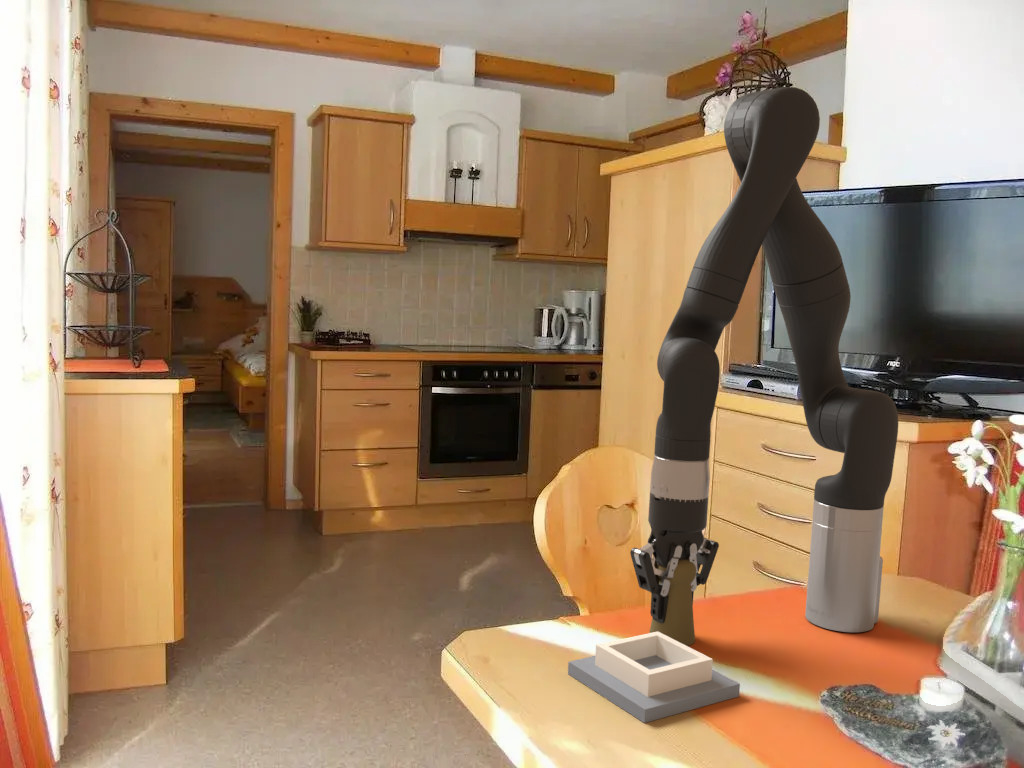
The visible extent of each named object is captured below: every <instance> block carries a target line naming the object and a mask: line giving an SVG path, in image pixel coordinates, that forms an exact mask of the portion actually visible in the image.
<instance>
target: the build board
mask: <svg viewBox="0 0 1024 768" xmlns="http://www.w3.org/2000/svg"><path fill="white" fill-rule="evenodd" d="M713 662H714V660H713V658H711V657H709V656H707V655H705V654H704V653H702V652H700V651H697V650H696V649H694V648H692V647H690V646H686V645H684V644H682V643H680V642H678V641H676V640H674V639H672V638H670V637H668V636H666V635H664V634H662V633H660V632H658V631H657V632H652V633H649V632H648V633H644V634H639V635H635V636H631V637H626V638H621V639H616V640H611V641H606V642H601V643H598V644H595V655H593V656H592V655H591V656H588V657H584V658H579V659H574V660H570V661H568V662H567V675H569V676H571V677H572V678H573V679H576V680H577V681H579V682H580V683H581V684H582V685H584V686H586V687H587V688H590V690H592V691H594V692H596V693H597V694H598V695H600V696H601V697H603V698H605V699H606V700H608V701H609V702H611V703H612V704H614V705H615V706H617V707H618V708H620V709H621V710H623V711H625V712H627V713H628V714H629V715H631V716H633V717H634V718H636V719H637V720H639V721H641V723H644V724H645V723H646V724H647V723H650V722H653V721H657V720H660V719H664V718H667V717H671V716H674V715H678V714H682V713H685V712H688V711H692V710H695V709H699V708H703V707H706V706H710V705H714V704H716V703H721V702H725V701H728V700H731V699H735V698H738V697H740V688H741V683H739V682H737V681H736V680H734V679H732V678H729V677H727V676H726V675H724V674H722V673H720V672H718V671H716V670H714V669H713Z"/></svg>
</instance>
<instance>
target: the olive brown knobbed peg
mask: <svg viewBox="0 0 1024 768" xmlns="http://www.w3.org/2000/svg"><path fill="white" fill-rule="evenodd" d="M657 568H658V569H660V570H662V571H666V569H667V568H665V567H663V566H660V565H659V564H657ZM695 576H696V566H695V565H694V563H692V562H689V561H688V560H687V559H684V560H679V561H678V564H677V567H676V568H675V571H674V577H673V579H670V580H669V582H670V587H669V591H668V594H667V596H669V600H668V606H667V612H666V618H665V622H664V623H662V624H661V623H659V622H657V621H655V620H653V618H651V621H650V622H651V624H650V628H649V632H648V633H652V632H657V631H658V632H660V633H662V634H664V635H666V636H668V637H670V638H672V639H674V640H676V641H678V642H680V643H682V644H684V645H686V646H688V647H690V646H691V645H694V643H696V635H695V634H696V633H695V621H694V607H693V605H694V604H693V605H692V591H691V583H692V582H693V580H694V579H695ZM658 578H659V580H660V582H659V584H661V580H662V577H661V576H659V575H658Z"/></svg>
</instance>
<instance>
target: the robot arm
mask: <svg viewBox="0 0 1024 768" xmlns="http://www.w3.org/2000/svg"><path fill="white" fill-rule="evenodd" d="M820 121H821V118H820V111H819V108H818V105H817V103H816V100H815V99H814V98H813V97H812V96H811V95H810V93H808V92H807V91H805V90H804V89H803V88H802V89H801V88H798V87H795V86H794V87H793V86H792V87H791V86H784V87H783V86H781V87H776V88H769V89H765V90H759V91H754V92H750V93H746V94H743V95H741V96H739V97H738V98H736V99H735V100H734V101H733V102H732V103H731V105H730V106H729V107H728V110H727V112H726V115H725V119H724V125H723V135H724V141H725V142H724V143H725V146H726V148H727V149H726V150H727V152H728V154H729V156H730V159H731V162H732V164H733V166H734V169H735V172H736V174H737V176H738V178H739V180H740V185H739V186H738V189H737V190H736V192H735V194H734V196H733V198H732V200H731V201H730V203H729V204H728V206H727V208H726V210H725V211H724V212H723V214H722V215H721V216H720V218H719V219H718V221H717V222H716V224H715V225H714V226H713V228H712V229H711V231H710V232H709V234H707V237H706V238H705V240H704V242H703V244H702V245H701V248H700V250H699V252H698V254H697V256H696V258H695V261H694V264H693V267H692V269H691V272H690V273H689V274H690V275H689V277H688V281H687V284H686V287H685V288H684V291H683V295H682V300H681V302H680V305H679V308H678V310H677V312H676V313H675V315H674V317H673V320H672V321H671V324H670V326H669V328H668V330H667V331H666V334H665V336H664V339H663V340H662V343H661V346H660V349H659V351H658V355H657V362H656V364H657V365H656V366H657V372H658V374H659V377H660V379H661V380H662V381H663V392H662V393H663V394H662V408H661V409H662V410H661V413H660V414H659V416H658V417H657V422H656V428H655V438H654V454H653V460H652V461H653V462H652V466H651V467H652V468H651V472H650V484H649V486H650V487H649V488H650V489H649V499H648V502H649V503H648V517H647V518H648V519H647V520H648V524H649V526H650V530H651V531H650V535H649V536H648V538H647V543H646V544H645V545H643V546H642V547H640V548H638V547H633V548H631V550H630V552H629V553H630V557H631V558H630V559H631V561H632V565H633V568H634V571H635V576H636V579H637V584H638V587H639V589H642V590H645V591H647V592H649V593H651V594H650V595H651V597H650V598H651V599H650V611H649V612H650V613H649V614H650V617H652V618H653V620H655V621H657V622H659V623H661V624H662V623H664V622H665V618H666V612H667V606H668V600H669V596H667V594H668V591H669V587H670V582H669V580H670V579H673V577H674V571H675V568H676V567H677V564H678V561H679V560H684V559H687V560H688V561H689V562H692V563H694V565H695V566H696V576H695V579H694V580H693V582H692V583H691V591H692V605H694V593H695V591H696V590H697V587H698V586H700V585H705V584H707V582H708V579H709V576H710V573H711V570H712V567H713V564H714V562H715V558H716V556H717V553H718V550H719V547H720V545H719V542H718V541H715V540H712V539H710V538H706V537H705V535H704V534H703V531H704V530H706V528H707V524H708V523H707V522H708V511H709V510H708V506H709V495H710V494H709V493H710V483H711V482H710V481H711V480H710V478H711V477H710V476H711V474H710V450H711V434H712V432H711V428H712V427H711V426H712V420H713V419H712V418H713V415H714V411H715V406H716V402H717V397H718V392H719V391H718V390H719V386H720V384H719V383H720V379H721V377H720V375H721V374H720V372H721V369H720V368H721V367H720V360H719V357H718V355H717V353H716V349H717V346H718V343H719V341H720V339H721V336H722V333H723V331H724V329H725V327H726V326H727V325H729V324H730V323H731V322H732V321H733V319H734V317H735V315H736V313H737V310H738V309H739V305H740V303H741V300H742V297H743V295H744V292H745V288H746V286H747V283H748V281H749V278H750V274H751V272H752V269H753V267H754V264H755V262H756V259H757V258H758V257H757V256H758V254H759V252H760V249H761V247H762V249H763V253H764V256H765V259H766V262H767V267H768V270H769V274H770V275H769V276H770V280H771V283H772V286H773V291H774V293H775V297H776V299H777V303H778V304H777V305H778V306H779V309H780V312H781V314H782V318H783V321H784V325H785V328H786V331H787V336H788V340H789V344H790V348H791V351H792V355H793V359H794V364H795V368H796V371H797V378H798V382H799V389H800V395H801V400H802V406H803V413H804V418H805V422H806V426H807V428H808V432H809V434H810V436H811V437H812V439H813V440H814V442H815V443H816V444H818V445H819V446H820V447H822V448H823V449H827V450H830V451H834V452H837V453H843V454H844V455H843V460H842V464H841V469H840V470H839V472H837V473H835V474H833V475H825V476H822V477H821V476H820V477H819V478H817V480H816V482H815V484H814V485H815V486H814V491H813V493H814V494H813V495H814V496H813V505H812V506H813V508H812V519H811V535H810V549H809V550H810V551H809V561H808V572H807V575H808V577H807V589H806V598H805V599H806V601H805V613H804V614H805V615H804V617H805V619H806V620H807V621H808V622H810V623H812V624H813V625H815V626H818V627H820V628H822V629H827V630H830V631H837V632H843V633H863V632H864V633H865V632H868V631H871V630H872V629H873V628H875V626H874V625H875V624H876V623H879V614H880V611H879V610H880V603H881V601H880V599H881V590H882V589H881V588H882V587H881V586H882V579H883V578H882V575H883V563H884V559H883V557H882V556H881V547H882V546H881V545H882V544H881V543H882V534H883V533H882V532H883V522H884V521H883V519H884V508H885V507H884V506H885V498H886V495H887V493H888V490H889V488H890V485H891V482H892V477H893V472H894V471H893V470H894V464H895V463H894V462H895V455H896V449H897V441H898V434H899V414H898V409H897V406H896V404H895V402H894V400H893V399H892V398H891V397H890V396H889V395H888V394H886V393H884V392H880V391H876V390H870V389H863V388H857V387H850V386H849V384H848V383H847V381H846V377H845V374H844V371H843V367H842V364H841V359H840V353H839V351H840V350H839V347H840V340H841V337H842V333H843V332H844V327H845V324H846V321H847V318H848V315H849V312H850V306H851V298H852V297H851V288H850V284H849V281H848V277H847V273H846V270H845V266H844V262H843V258H842V255H841V253H840V250H839V248H838V245H837V243H836V240H835V239H834V238H833V236H832V235H831V233H830V231H829V230H828V229H827V227H826V225H825V224H824V223H823V221H822V220H821V219H820V217H819V216H818V214H816V212H815V211H814V209H813V208H812V207H811V205H810V204H809V202H808V201H807V199H806V197H805V195H804V194H803V192H802V190H801V187H800V185H799V182H798V179H797V177H798V175H799V173H800V171H801V169H802V168H803V166H804V165H805V163H806V160H807V158H809V155H810V153H811V152H812V149H813V146H814V145H815V142H816V140H817V137H818V135H819V130H820V123H821V122H820ZM657 564H659V565H660V566H663V567H665V568H667V569H666V571H662V570H660V569H658V568H657ZM701 566H702V567H701ZM700 568H701V569H700ZM699 570H700V573H699ZM658 575H659V576H661V577H662V580H661V584H659V582H660V580H659V578H658ZM652 618H651V619H652Z"/></svg>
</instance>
